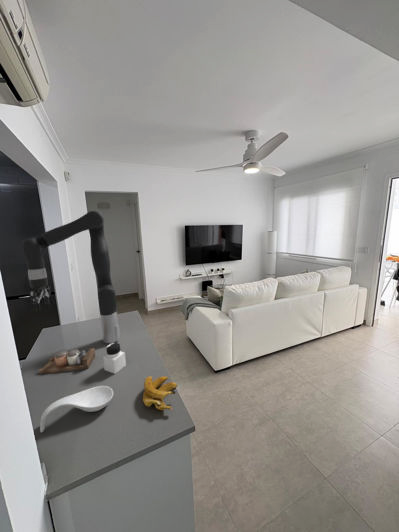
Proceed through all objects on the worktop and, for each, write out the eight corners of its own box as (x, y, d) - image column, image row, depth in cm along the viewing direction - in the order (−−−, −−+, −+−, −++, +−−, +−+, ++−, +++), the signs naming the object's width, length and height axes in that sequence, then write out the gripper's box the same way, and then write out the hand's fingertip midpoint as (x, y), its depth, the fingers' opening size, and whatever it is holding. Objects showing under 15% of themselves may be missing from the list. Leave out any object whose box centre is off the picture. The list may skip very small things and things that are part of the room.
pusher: (85, 357, 112) (84, 348, 111) (80, 366, 105) (79, 356, 104) (83, 358, 111) (82, 348, 111) (77, 366, 105) (76, 356, 104)
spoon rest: (110, 388, 91) (108, 373, 90) (117, 407, 81) (115, 390, 80) (41, 417, 78) (38, 400, 76) (40, 443, 68) (36, 424, 67)
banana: (156, 424, 74) (155, 409, 73) (133, 393, 88) (132, 380, 87) (192, 400, 83) (191, 387, 82) (166, 376, 98) (165, 364, 97)
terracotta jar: (71, 360, 110) (69, 349, 109) (65, 367, 105) (64, 356, 104) (59, 361, 110) (57, 350, 109) (53, 368, 104) (51, 357, 103)
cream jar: (82, 359, 111) (81, 348, 110) (78, 366, 105) (76, 354, 104) (70, 360, 110) (69, 349, 109) (66, 367, 105) (64, 356, 103)
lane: (95, 356, 114) (94, 348, 113) (88, 368, 104) (86, 359, 103) (50, 360, 111) (49, 352, 110) (38, 373, 101) (37, 364, 101)
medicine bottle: (126, 365, 106) (124, 342, 104) (115, 374, 99) (112, 350, 97) (115, 362, 109) (113, 340, 107) (104, 370, 102) (101, 347, 100)
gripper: (37, 280, 104) (42, 311, 107) (53, 274, 118) (57, 302, 121) (20, 281, 103) (26, 313, 106) (38, 274, 117) (42, 303, 120)
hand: (42, 307), depth 113 cm, fingers open, 8 cm apart
